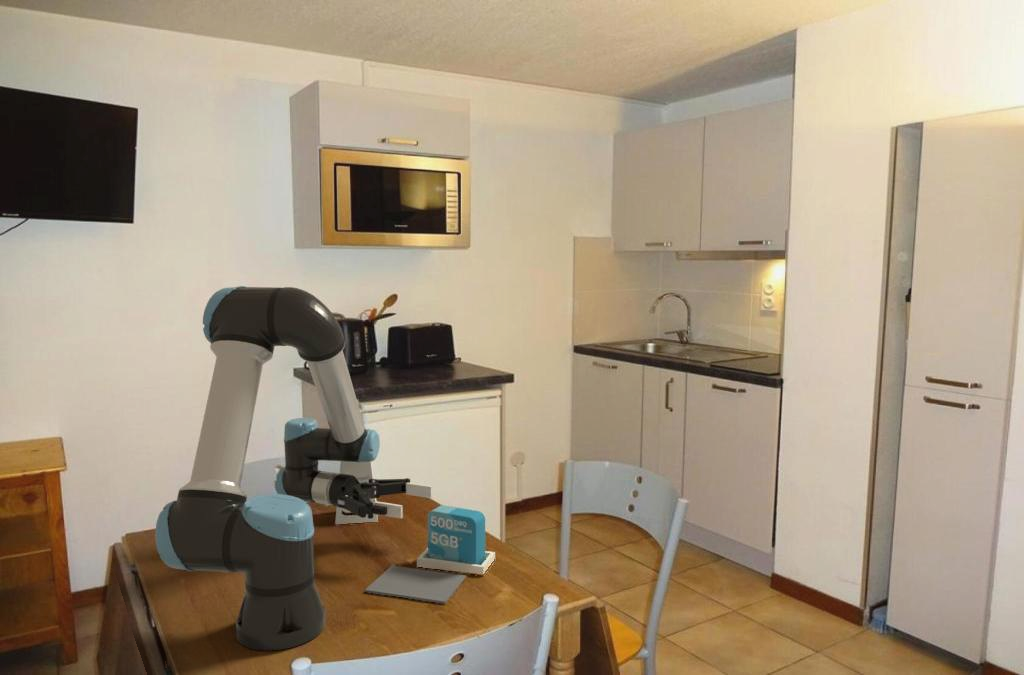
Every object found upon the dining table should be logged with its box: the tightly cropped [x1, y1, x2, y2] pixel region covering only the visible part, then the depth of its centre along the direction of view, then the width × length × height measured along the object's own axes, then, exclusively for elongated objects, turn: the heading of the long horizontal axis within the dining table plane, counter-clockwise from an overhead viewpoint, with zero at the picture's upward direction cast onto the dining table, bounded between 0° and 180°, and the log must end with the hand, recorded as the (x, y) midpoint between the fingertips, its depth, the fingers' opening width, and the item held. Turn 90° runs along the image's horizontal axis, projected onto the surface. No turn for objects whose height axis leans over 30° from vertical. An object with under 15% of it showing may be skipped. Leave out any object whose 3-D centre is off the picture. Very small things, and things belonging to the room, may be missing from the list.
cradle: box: [416, 547, 496, 574], centre depth 154 cm, size 8×15×2 cm, turn 74°
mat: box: [364, 565, 467, 605], centre depth 144 cm, size 12×17×1 cm
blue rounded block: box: [427, 504, 486, 565], centre depth 154 cm, size 12×4×12 cm, turn 65°
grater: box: [334, 461, 379, 525], centre depth 182 cm, size 10×10×20 cm
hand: (417, 501), depth 157 cm, fingers open, 13 cm apart
